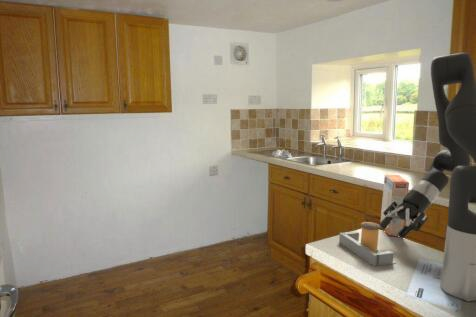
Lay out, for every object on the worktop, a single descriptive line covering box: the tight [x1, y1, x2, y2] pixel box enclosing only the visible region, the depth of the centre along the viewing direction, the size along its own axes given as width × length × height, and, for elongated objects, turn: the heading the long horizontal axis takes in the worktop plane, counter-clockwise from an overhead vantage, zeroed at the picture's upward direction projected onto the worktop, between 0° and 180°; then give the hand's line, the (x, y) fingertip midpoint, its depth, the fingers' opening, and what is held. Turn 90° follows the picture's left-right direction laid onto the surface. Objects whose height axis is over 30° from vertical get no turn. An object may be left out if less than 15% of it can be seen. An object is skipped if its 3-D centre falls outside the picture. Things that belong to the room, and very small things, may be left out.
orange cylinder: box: [360, 221, 381, 252], centre depth 112 cm, size 6×6×9 cm
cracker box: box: [379, 174, 410, 237], centre depth 132 cm, size 14×6×21 cm, turn 168°
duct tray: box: [338, 230, 397, 267], centre depth 112 cm, size 19×8×4 cm, turn 16°
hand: (390, 231), depth 115 cm, fingers open, 8 cm apart
